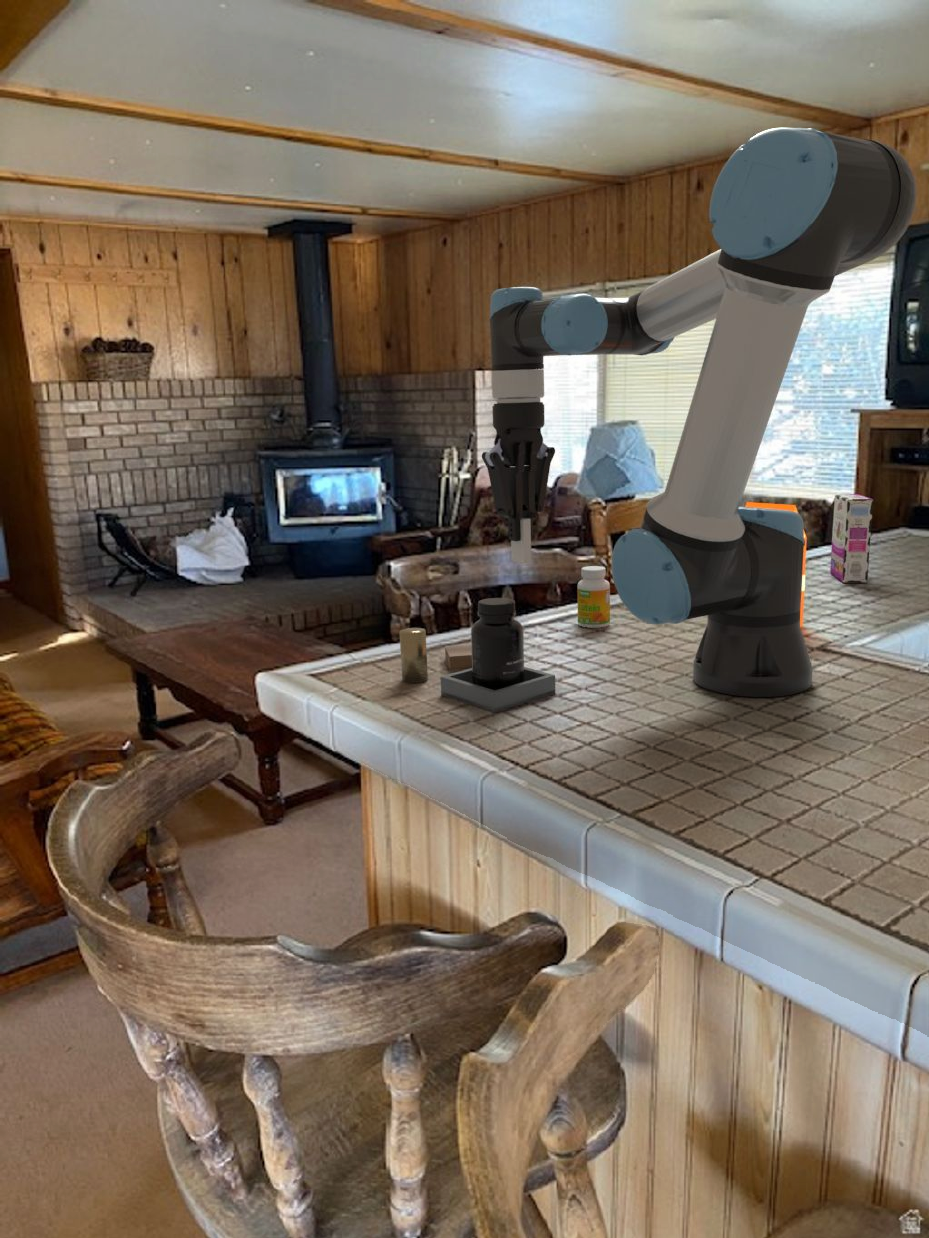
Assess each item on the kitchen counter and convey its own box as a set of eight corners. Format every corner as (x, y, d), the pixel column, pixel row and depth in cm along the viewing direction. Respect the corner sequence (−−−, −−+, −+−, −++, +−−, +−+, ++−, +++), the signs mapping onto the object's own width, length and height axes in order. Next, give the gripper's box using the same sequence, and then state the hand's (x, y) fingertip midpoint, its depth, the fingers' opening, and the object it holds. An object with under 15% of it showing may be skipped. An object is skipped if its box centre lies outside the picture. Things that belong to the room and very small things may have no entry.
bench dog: (433, 679, 132) (430, 630, 131) (412, 684, 130) (409, 635, 128) (417, 674, 135) (414, 626, 133) (397, 679, 133) (394, 631, 131)
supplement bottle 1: (521, 699, 120) (518, 607, 117) (468, 698, 122) (464, 606, 119) (528, 683, 127) (525, 595, 124) (478, 682, 128) (474, 595, 125)
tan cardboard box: (511, 668, 137) (511, 652, 137) (450, 673, 136) (449, 656, 136) (504, 657, 143) (504, 641, 143) (445, 662, 142) (444, 646, 142)
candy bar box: (869, 583, 184) (874, 498, 180) (842, 584, 184) (847, 499, 181) (854, 573, 194) (859, 492, 191) (829, 573, 195) (833, 493, 191)
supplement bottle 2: (573, 627, 158) (573, 570, 156) (582, 620, 163) (581, 564, 161) (605, 629, 156) (605, 571, 154) (613, 622, 161) (613, 565, 159)
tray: (555, 693, 124) (555, 675, 123) (495, 712, 117) (494, 693, 117) (500, 677, 132) (500, 660, 131) (441, 694, 125) (440, 676, 124)
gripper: (532, 399, 144) (534, 553, 150) (467, 402, 136) (472, 564, 141) (568, 399, 138) (569, 558, 144) (502, 402, 130) (506, 570, 136)
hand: (521, 561), depth 143 cm, fingers closed
